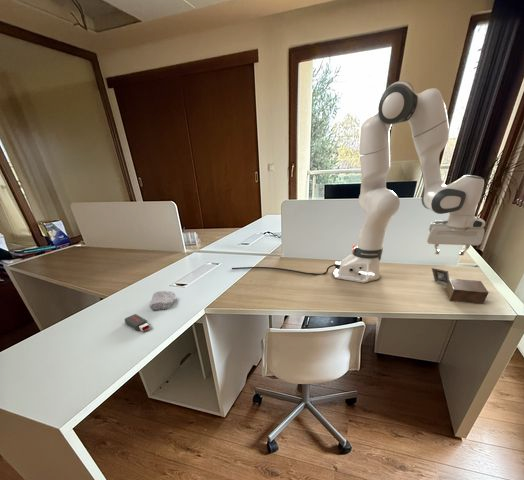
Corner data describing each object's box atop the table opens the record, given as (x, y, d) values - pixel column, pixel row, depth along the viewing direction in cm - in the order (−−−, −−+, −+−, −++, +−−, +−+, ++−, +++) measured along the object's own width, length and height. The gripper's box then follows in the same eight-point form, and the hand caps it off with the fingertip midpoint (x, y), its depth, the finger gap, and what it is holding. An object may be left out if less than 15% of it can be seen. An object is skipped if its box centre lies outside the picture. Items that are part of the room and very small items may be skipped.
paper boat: (457, 279, 131) (457, 281, 124) (445, 289, 135) (444, 292, 128) (438, 262, 133) (437, 262, 126) (426, 272, 137) (424, 273, 130)
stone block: (177, 300, 133) (155, 298, 131) (177, 291, 130) (154, 288, 129) (173, 313, 124) (149, 311, 122) (172, 304, 121) (148, 301, 119)
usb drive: (137, 318, 117) (135, 312, 116) (152, 327, 111) (150, 321, 109) (125, 323, 114) (123, 317, 113) (140, 333, 108) (138, 327, 106)
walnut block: (449, 300, 118) (454, 289, 115) (445, 289, 127) (449, 278, 124) (483, 304, 114) (488, 292, 111) (476, 291, 123) (481, 280, 120)
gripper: (432, 222, 117) (423, 255, 126) (490, 223, 111) (477, 258, 119) (430, 218, 122) (421, 251, 130) (486, 219, 116) (473, 253, 124)
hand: (448, 254), depth 125 cm, fingers open, 8 cm apart
